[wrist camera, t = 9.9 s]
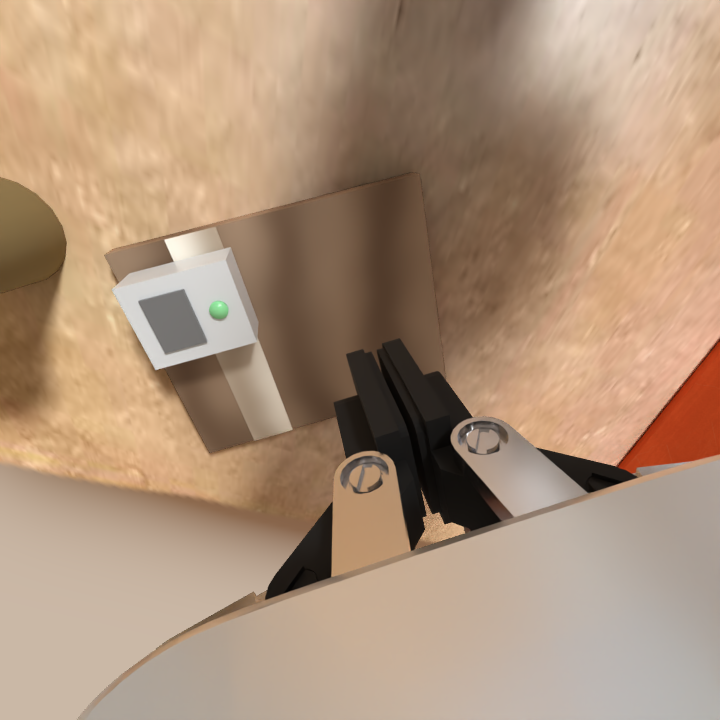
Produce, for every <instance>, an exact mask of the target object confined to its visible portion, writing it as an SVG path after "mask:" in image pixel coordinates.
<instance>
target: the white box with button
mask: <svg viewBox="0 0 720 720" xmlns="http://www.w3.org/2000/svg"><path fill="white" fill-rule="evenodd" d="M112 291H113V293H114V295H115V297H116V299H117V300H118V302H119V304H120V306H121V308H122V310H123V311H124V313H125V315H126V317H127V319H128V321H129V322H130V324H131V326H132V328H133V330H134V331H135V333H136V335H137V337H138V339H139V341H140V342H141V344H142V346H143V348H144V350H145V352H146V353H147V355H148V357H149V359H150V361H151V363H152V364H153V366H154V368H155V370H158V369H161V368H165V367H169V366H172V365H176V364H180V363H183V362H187V361H190V360H194V359H198V358H201V357H205V356H209V355H212V354H216V353H219V352H223V351H227V350H230V349H234V348H238V347H241V346H245V345H248V344H252V343H256V342H257V336H258V323H259V322H258V320H257V317H256V314H255V312H254V309H253V306H252V304H251V301H250V298H249V295H248V293H247V290H246V287H245V285H244V282H243V279H242V277H241V274H240V271H239V269H238V266H237V263H236V260H235V258H234V255H233V252H232V250H231V247H229V248H225V249H221V250H217V251H214V252H210V253H206V254H202V255H198V256H194V257H190V258H187V259H183V260H179V261H175V262H171V263H167V264H164V265H160V266H156V267H152V268H148V269H144V270H141V271H137V272H133V273H129V274H128V275H127V276H126V277H125V278H124V279H123V280H122V281H120V282H119V283H118V284H117V285H116V286H115V287H114V288H113V289H112Z"/></svg>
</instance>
